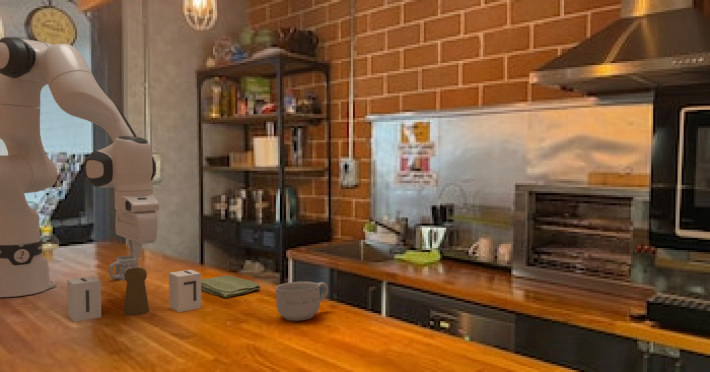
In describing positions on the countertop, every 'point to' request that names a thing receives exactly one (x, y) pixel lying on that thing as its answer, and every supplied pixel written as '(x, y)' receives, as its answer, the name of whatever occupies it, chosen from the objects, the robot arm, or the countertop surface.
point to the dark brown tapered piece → (136, 292)
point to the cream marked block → (185, 290)
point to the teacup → (299, 299)
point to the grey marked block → (84, 298)
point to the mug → (122, 266)
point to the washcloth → (228, 286)
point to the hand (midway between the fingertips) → (135, 257)
